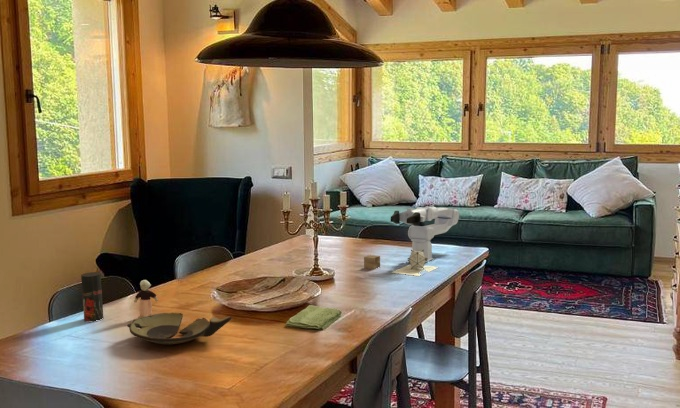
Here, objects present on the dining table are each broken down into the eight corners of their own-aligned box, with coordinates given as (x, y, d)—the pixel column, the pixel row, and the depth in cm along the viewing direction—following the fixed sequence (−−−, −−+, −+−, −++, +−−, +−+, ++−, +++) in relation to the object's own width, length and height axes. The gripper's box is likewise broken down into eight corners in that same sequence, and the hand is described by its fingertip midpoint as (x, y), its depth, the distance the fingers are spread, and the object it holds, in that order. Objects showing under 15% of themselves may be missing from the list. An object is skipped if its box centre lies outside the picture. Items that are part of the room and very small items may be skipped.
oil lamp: (165, 323, 212) (164, 300, 211) (242, 337, 198) (241, 312, 197) (111, 345, 192) (109, 320, 191) (192, 362, 178) (190, 334, 177)
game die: (420, 276, 282) (432, 256, 283) (420, 273, 274) (433, 253, 275) (402, 265, 284) (414, 245, 285) (401, 262, 276) (414, 242, 277)
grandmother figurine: (134, 320, 215) (132, 282, 214) (134, 317, 219) (132, 279, 217) (159, 318, 217) (157, 280, 216) (159, 314, 221) (157, 277, 219)
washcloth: (283, 328, 206) (283, 318, 206) (309, 312, 222) (309, 303, 222) (322, 333, 201) (321, 323, 201) (345, 316, 217) (345, 307, 217)
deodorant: (107, 318, 218) (104, 273, 217) (92, 322, 213) (89, 277, 211) (95, 315, 222) (92, 271, 220) (80, 320, 216) (77, 275, 214)
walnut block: (370, 266, 287) (369, 254, 287) (380, 267, 285) (380, 255, 284) (364, 268, 283) (363, 256, 283) (374, 269, 281) (374, 258, 280)
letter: (411, 264, 289) (411, 263, 289) (438, 267, 282) (438, 267, 282) (391, 272, 274) (391, 272, 274) (419, 276, 267) (419, 276, 267)
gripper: (399, 205, 292) (384, 209, 281) (429, 208, 284) (415, 211, 273) (399, 221, 293) (384, 225, 281) (429, 224, 285) (414, 228, 273)
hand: (399, 219), depth 277 cm, fingers open, 7 cm apart
